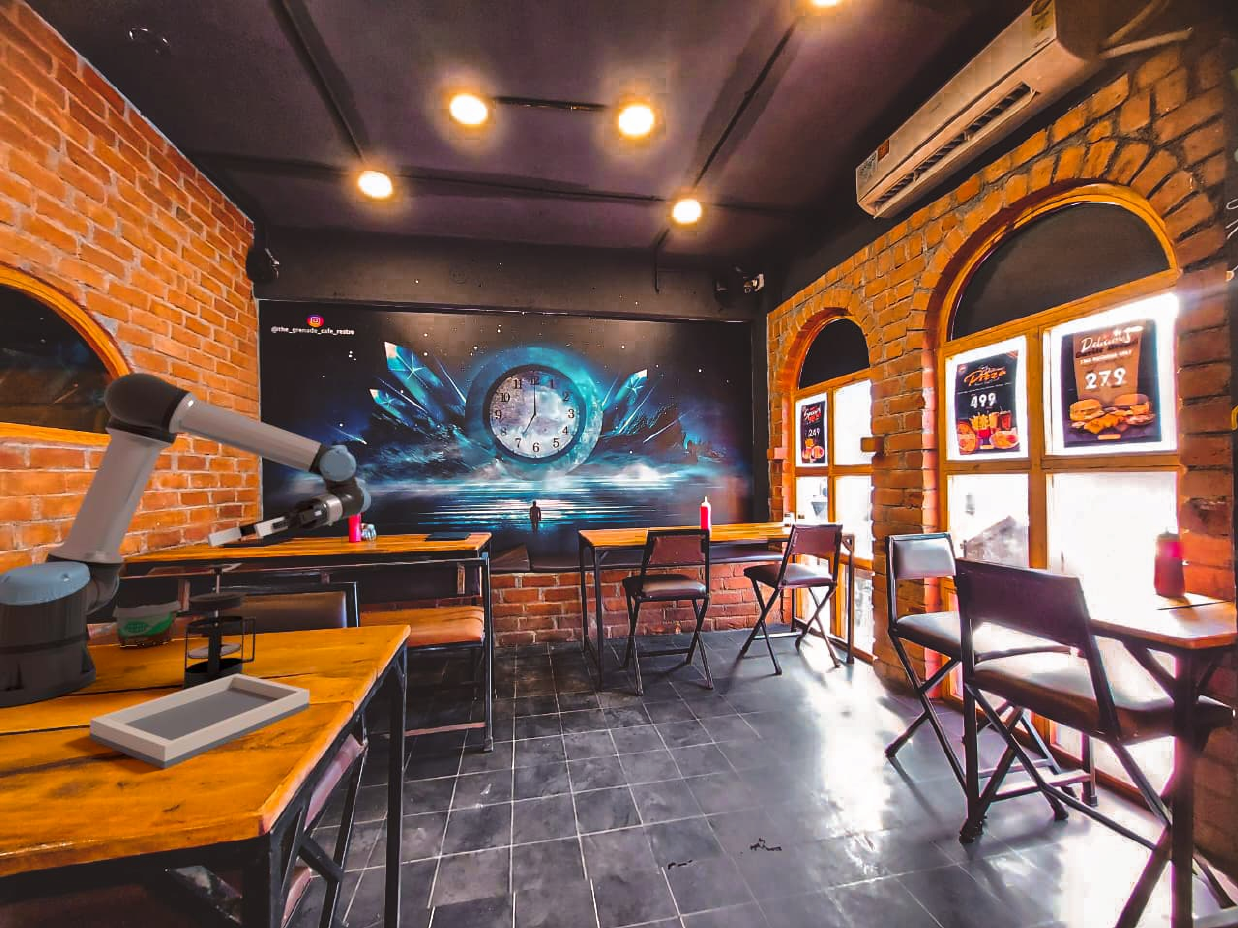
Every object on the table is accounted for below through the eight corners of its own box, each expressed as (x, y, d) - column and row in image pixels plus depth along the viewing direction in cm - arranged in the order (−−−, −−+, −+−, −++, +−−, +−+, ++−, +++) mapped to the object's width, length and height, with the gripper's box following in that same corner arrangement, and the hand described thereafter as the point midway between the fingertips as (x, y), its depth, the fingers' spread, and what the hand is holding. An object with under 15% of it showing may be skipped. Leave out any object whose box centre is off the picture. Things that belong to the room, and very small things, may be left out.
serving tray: (89, 739, 75) (90, 719, 75) (236, 689, 94) (237, 673, 94) (164, 769, 67) (165, 746, 67) (309, 707, 86) (309, 690, 86)
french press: (174, 697, 90) (180, 570, 91) (180, 681, 98) (185, 564, 99) (254, 682, 97) (258, 565, 99) (253, 668, 105) (257, 559, 106)
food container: (103, 655, 113) (105, 611, 114) (111, 648, 118) (113, 605, 119) (174, 645, 120) (176, 604, 120) (179, 639, 125) (181, 599, 125)
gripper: (360, 518, 120) (283, 544, 100) (282, 533, 127) (195, 561, 107) (352, 488, 120) (272, 508, 99) (274, 506, 126) (184, 528, 106)
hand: (232, 536), depth 103 cm, fingers open, 13 cm apart
